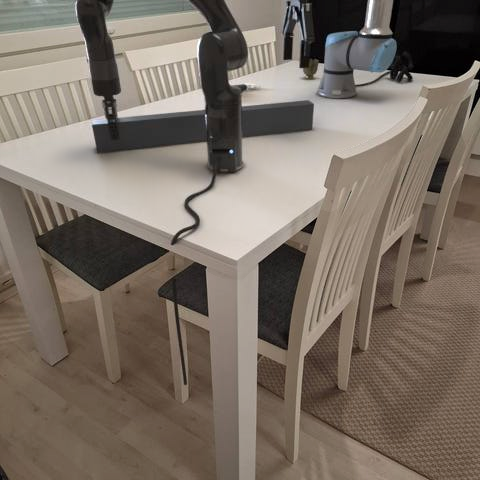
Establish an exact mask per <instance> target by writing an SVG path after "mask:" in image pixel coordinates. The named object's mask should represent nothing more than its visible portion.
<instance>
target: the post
mask: <svg viewBox="0 0 480 480" xmlns="http://www.w3.org/2000/svg"><path fill="white" fill-rule="evenodd" d="M314 109H315V103H313V102H312V101H310V100H309V99H307V100H295V101H286V102H285V101H284V102H273V103H264V104H263V103H262V104H252V105H243V106H242V138H249V137H258V136H267V135H276V134H286V133H295V132H305V131H313V126H314V125H313V124H314ZM116 120H117V123H118V125H117V126H118V127H117V128H118V134H119V139H118V140H112V139H111V134H110V129H109V127H108V121H107V119H106V118H102V119H101V118H100V119H92V120H91V128H92V134H93V138H94V143H95V148H96V153H97V154H100V153H110V152H119V151H128V150H134V149H135V150H137V149H147V148H155V147H164V146H175V145H182V144H183V145H184V144H192V143H202V142H207V136H206V118H205V109H199V110H198V109H197V110H187V111H175V112H165V113H154V114H143V115H133V116H123V117H122V116H121V117H117V118H116ZM109 121H110V122H115V120H114V119H112V120H109Z"/></svg>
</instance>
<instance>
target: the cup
mask: <svg viewBox="0 0 480 480" xmlns="http://www.w3.org/2000/svg"><path fill="white" fill-rule="evenodd" d="M319 62H320V60H319V59H316V58H315V59H312V58H310V60H309V68H302V73H303V74H304V75H305V79H307V80H313V79H314V78H315V77H314V75H316V74H317V72H318V67H319V64H320V63H319Z"/></svg>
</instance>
